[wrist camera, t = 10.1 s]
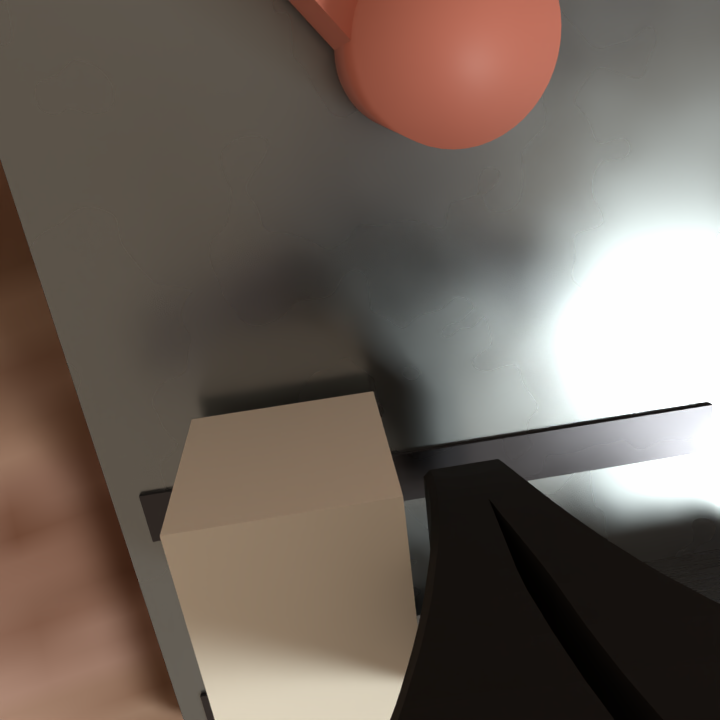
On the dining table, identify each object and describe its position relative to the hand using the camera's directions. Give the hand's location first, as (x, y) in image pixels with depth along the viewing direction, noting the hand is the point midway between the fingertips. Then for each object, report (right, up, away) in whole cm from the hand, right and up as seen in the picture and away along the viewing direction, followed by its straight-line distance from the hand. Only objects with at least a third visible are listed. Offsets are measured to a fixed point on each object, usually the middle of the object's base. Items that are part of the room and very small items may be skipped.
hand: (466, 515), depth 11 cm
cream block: (-3, 0, +1) cm, 3 cm away
